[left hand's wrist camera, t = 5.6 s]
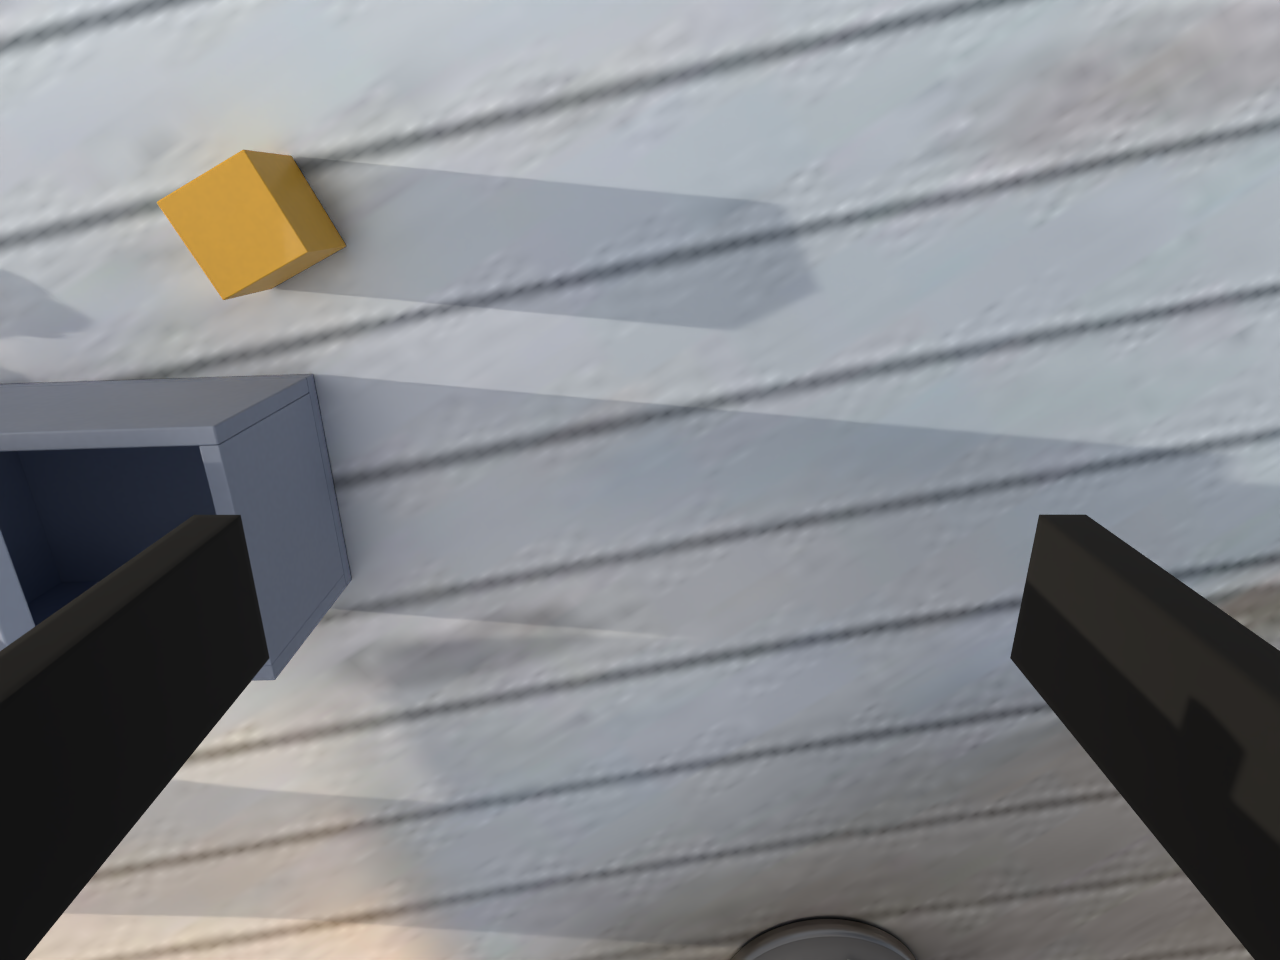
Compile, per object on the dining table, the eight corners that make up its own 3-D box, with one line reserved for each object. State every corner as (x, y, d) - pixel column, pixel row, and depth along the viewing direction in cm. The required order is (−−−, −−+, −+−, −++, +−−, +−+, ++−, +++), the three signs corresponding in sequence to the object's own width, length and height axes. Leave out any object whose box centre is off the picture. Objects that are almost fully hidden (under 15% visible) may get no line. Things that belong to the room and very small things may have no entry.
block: (291, 155, 36) (243, 149, 32) (346, 246, 37) (308, 252, 33) (213, 202, 37) (156, 201, 32) (270, 289, 38) (223, 300, 34)
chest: (313, 373, 40) (213, 425, 30) (351, 579, 44) (275, 680, 35) (-8, 384, 40) (-203, 439, 31) (62, 588, 44) (-91, 690, 35)
